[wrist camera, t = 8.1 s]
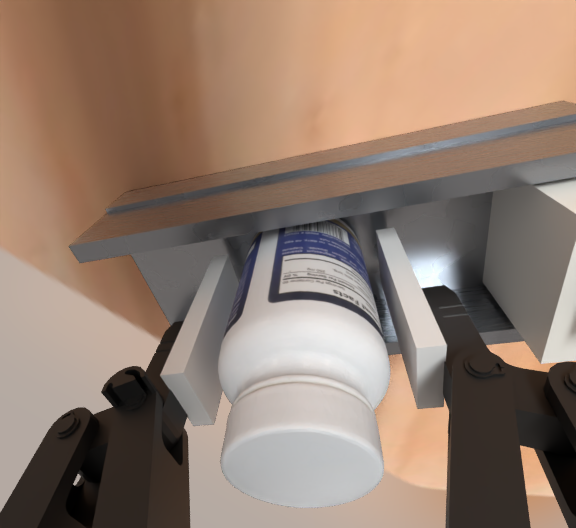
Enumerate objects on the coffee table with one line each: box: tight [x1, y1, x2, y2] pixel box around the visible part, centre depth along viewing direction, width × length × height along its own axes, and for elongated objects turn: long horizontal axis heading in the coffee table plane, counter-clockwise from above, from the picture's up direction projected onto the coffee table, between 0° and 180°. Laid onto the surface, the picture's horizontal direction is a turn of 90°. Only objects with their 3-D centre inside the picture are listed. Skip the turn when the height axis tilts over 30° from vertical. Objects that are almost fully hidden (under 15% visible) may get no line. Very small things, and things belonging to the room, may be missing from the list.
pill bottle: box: [218, 218, 390, 508], centre depth 12 cm, size 5×5×10 cm
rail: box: [68, 101, 576, 355], centre depth 15 cm, size 8×20×5 cm, turn 103°
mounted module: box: [482, 177, 576, 364], centre depth 12 cm, size 6×3×6 cm, turn 13°
